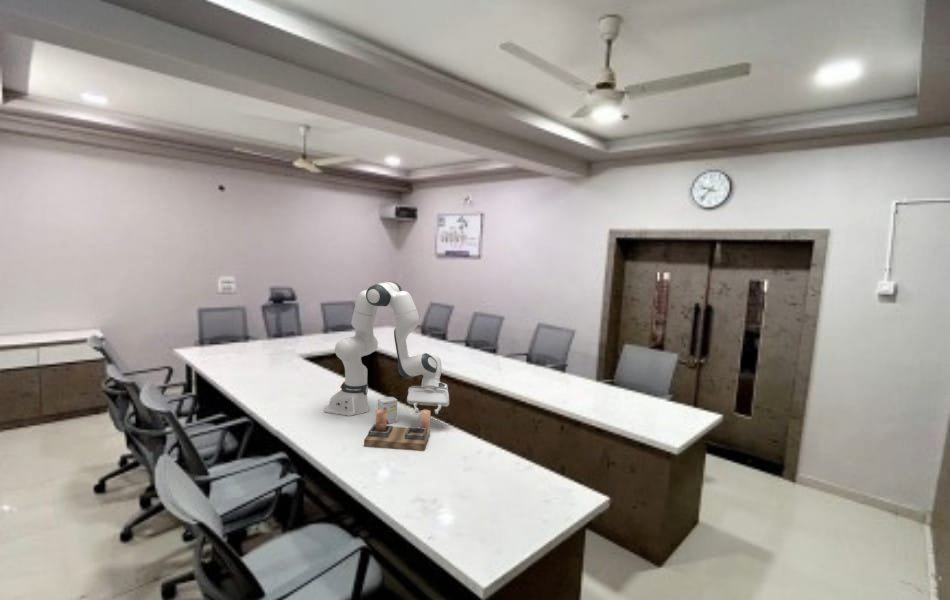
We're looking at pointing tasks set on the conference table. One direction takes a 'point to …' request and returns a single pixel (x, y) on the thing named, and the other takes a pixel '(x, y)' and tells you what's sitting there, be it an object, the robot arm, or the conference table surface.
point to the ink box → (389, 408)
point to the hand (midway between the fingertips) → (426, 413)
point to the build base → (395, 435)
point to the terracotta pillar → (425, 419)
